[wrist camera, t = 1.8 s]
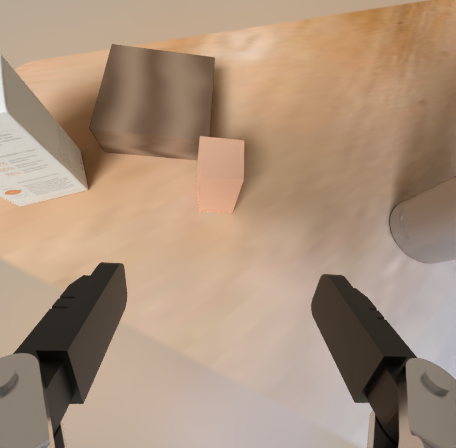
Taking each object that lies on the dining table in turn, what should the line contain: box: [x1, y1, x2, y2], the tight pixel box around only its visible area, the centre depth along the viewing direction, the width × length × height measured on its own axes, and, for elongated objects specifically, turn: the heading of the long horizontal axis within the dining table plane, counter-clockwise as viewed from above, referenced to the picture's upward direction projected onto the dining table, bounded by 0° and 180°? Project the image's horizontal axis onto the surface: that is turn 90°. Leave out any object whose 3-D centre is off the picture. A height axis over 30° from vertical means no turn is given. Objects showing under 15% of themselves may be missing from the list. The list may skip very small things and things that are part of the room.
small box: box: [0, 55, 88, 206], centre depth 23 cm, size 8×6×13 cm
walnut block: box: [89, 44, 215, 160], centre depth 32 cm, size 14×14×5 cm
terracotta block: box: [196, 136, 244, 213], centre depth 27 cm, size 4×4×9 cm
